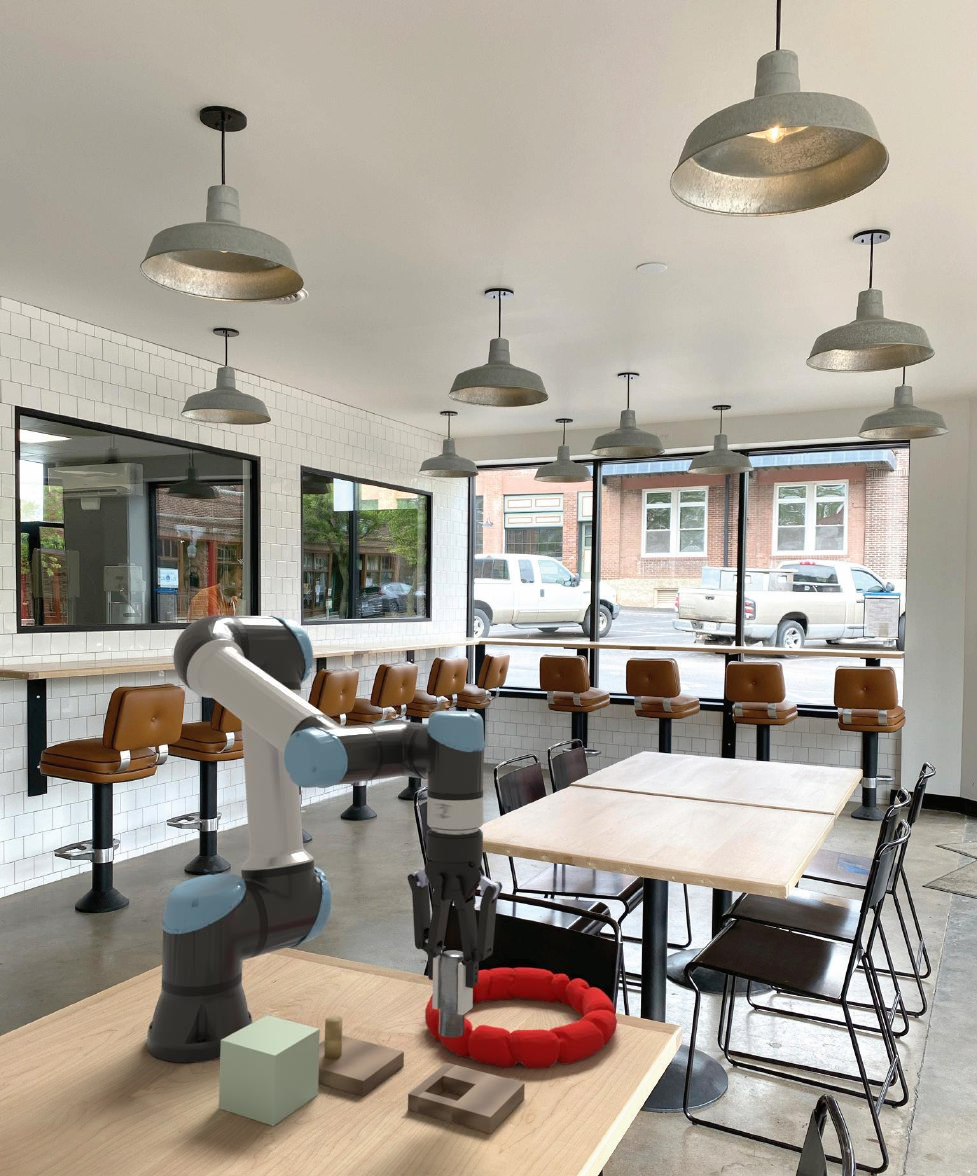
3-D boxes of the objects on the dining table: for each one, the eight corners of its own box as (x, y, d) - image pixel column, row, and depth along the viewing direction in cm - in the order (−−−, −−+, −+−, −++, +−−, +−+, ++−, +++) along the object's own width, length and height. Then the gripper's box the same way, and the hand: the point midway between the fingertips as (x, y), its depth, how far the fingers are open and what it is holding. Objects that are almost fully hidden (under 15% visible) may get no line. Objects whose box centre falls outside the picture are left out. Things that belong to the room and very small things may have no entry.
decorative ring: (609, 1051, 128) (622, 958, 157) (400, 1029, 134) (450, 943, 163) (609, 1102, 128) (622, 999, 157) (401, 1077, 134) (450, 983, 164)
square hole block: (407, 1109, 120) (408, 1093, 120) (446, 1077, 129) (446, 1062, 129) (490, 1133, 114) (490, 1117, 114) (524, 1098, 123) (524, 1083, 123)
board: (291, 1075, 129) (293, 1023, 129) (335, 1047, 137) (336, 999, 138) (363, 1096, 123) (364, 1042, 123) (403, 1065, 132) (404, 1015, 132)
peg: (433, 1033, 121) (434, 955, 122) (449, 1024, 124) (450, 948, 125) (454, 1039, 119) (455, 960, 120) (469, 1030, 122) (470, 953, 123)
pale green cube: (218, 1108, 119) (220, 1040, 120) (265, 1078, 127) (267, 1015, 128) (273, 1126, 115) (275, 1055, 116) (318, 1094, 123) (319, 1028, 124)
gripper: (388, 826, 124) (385, 1006, 122) (496, 840, 116) (494, 1031, 115) (417, 817, 130) (415, 987, 129) (521, 829, 123) (520, 1010, 122)
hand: (452, 1007), depth 122 cm, fingers closed on peg, 3 cm apart
